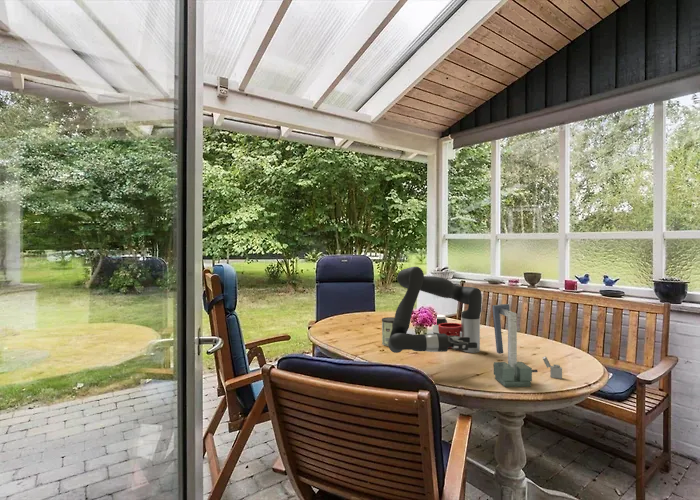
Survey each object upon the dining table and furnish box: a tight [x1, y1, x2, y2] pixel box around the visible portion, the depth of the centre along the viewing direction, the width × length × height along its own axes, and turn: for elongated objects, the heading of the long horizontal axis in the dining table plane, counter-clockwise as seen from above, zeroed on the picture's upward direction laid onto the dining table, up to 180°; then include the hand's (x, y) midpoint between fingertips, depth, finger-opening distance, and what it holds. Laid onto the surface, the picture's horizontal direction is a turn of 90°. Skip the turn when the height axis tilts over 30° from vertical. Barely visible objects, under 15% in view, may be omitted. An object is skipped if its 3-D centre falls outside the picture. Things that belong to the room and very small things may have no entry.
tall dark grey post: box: [492, 303, 511, 355], centre depth 152 cm, size 6×2×20 cm, turn 91°
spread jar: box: [432, 314, 450, 334], centre depth 219 cm, size 12×11×12 cm
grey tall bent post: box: [493, 309, 538, 388], centre depth 147 cm, size 16×18×28 cm
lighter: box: [542, 355, 563, 380], centre depth 148 cm, size 7×2×8 cm, turn 57°
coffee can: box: [381, 316, 395, 347], centre depth 200 cm, size 10×10×14 cm
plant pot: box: [438, 322, 461, 349], centre depth 194 cm, size 13×13×12 cm
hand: (473, 342), depth 152 cm, fingers open, 8 cm apart
